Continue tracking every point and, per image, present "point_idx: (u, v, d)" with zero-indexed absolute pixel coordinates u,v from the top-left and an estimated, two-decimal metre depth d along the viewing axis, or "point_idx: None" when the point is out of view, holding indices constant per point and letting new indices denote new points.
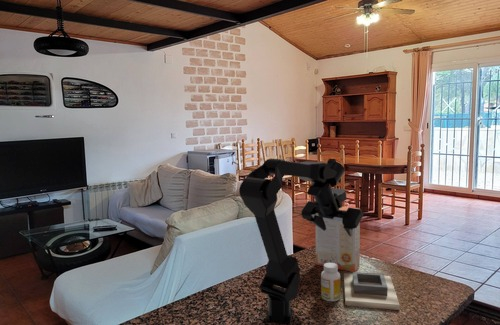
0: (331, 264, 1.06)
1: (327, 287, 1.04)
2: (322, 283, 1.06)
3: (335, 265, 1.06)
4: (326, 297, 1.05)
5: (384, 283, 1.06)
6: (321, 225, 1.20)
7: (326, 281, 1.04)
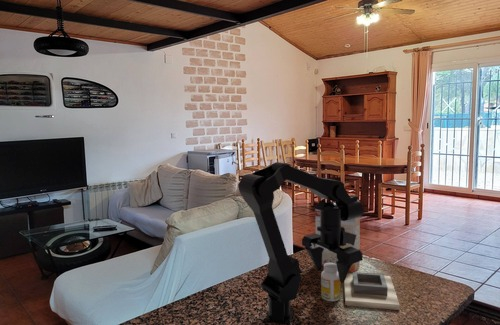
0: (331, 264, 1.06)
1: (327, 287, 1.04)
2: (322, 283, 1.06)
3: (335, 265, 1.06)
4: (326, 297, 1.05)
5: (384, 283, 1.06)
6: (317, 262, 1.09)
7: (326, 281, 1.04)
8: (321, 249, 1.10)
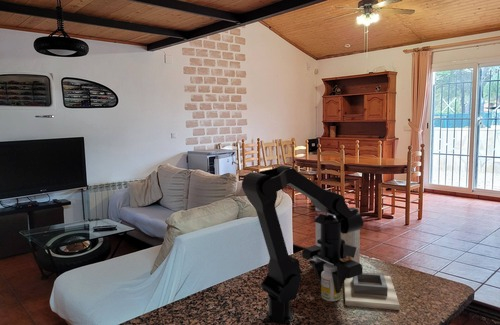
0: None
1: (327, 287, 1.04)
2: (322, 283, 1.06)
3: None
4: (326, 297, 1.05)
5: (384, 283, 1.06)
6: None
7: (326, 281, 1.04)
8: None
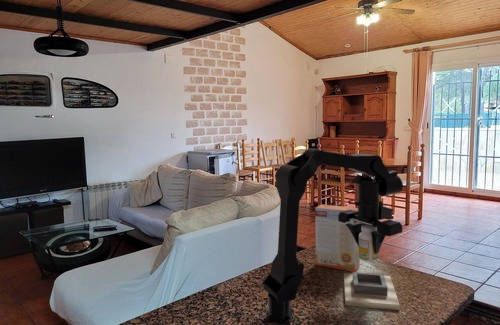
0: (369, 225, 1.07)
1: (366, 247, 1.05)
2: (360, 244, 1.07)
3: None
4: (364, 258, 1.06)
5: (384, 283, 1.06)
6: (358, 238, 1.09)
7: (364, 241, 1.05)
8: None
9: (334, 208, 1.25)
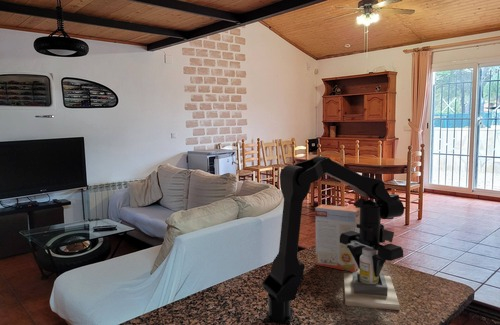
0: (370, 248, 1.08)
1: (366, 270, 1.06)
2: (361, 267, 1.08)
3: None
4: (365, 280, 1.07)
5: (384, 283, 1.06)
6: (359, 260, 1.10)
7: (365, 264, 1.06)
8: None
9: (334, 208, 1.25)
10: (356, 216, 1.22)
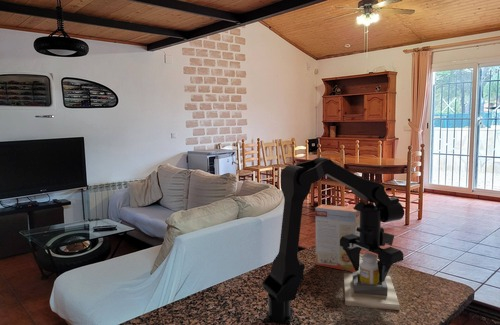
0: (370, 255, 1.08)
1: (366, 277, 1.06)
2: (361, 273, 1.08)
3: (374, 256, 1.08)
4: None
5: (384, 283, 1.06)
6: (355, 262, 1.12)
7: (365, 271, 1.06)
8: (359, 249, 1.13)
9: (334, 208, 1.25)
10: (356, 216, 1.22)
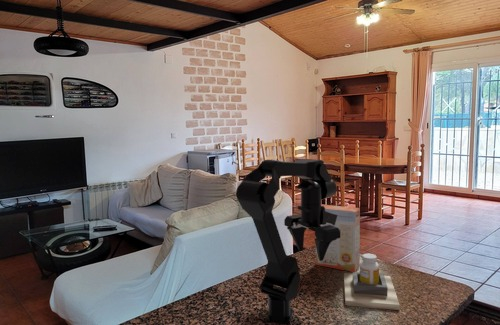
0: (370, 255, 1.09)
1: (366, 277, 1.06)
2: (361, 273, 1.08)
3: (374, 256, 1.08)
4: None
5: (384, 283, 1.06)
6: (298, 241, 1.11)
7: (365, 271, 1.06)
8: (303, 229, 1.12)
9: (334, 208, 1.25)
10: (356, 216, 1.22)
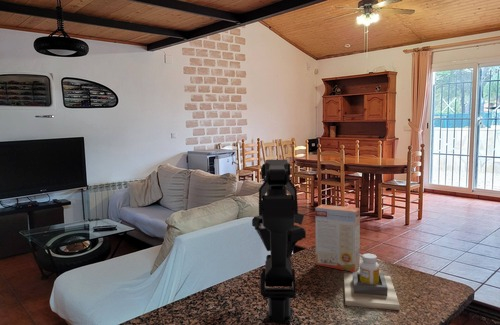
0: (370, 255, 1.09)
1: (366, 277, 1.06)
2: (361, 273, 1.08)
3: (374, 256, 1.08)
4: None
5: (384, 283, 1.06)
6: (266, 242, 1.11)
7: (365, 271, 1.06)
8: None
9: (334, 208, 1.25)
10: (356, 216, 1.22)
